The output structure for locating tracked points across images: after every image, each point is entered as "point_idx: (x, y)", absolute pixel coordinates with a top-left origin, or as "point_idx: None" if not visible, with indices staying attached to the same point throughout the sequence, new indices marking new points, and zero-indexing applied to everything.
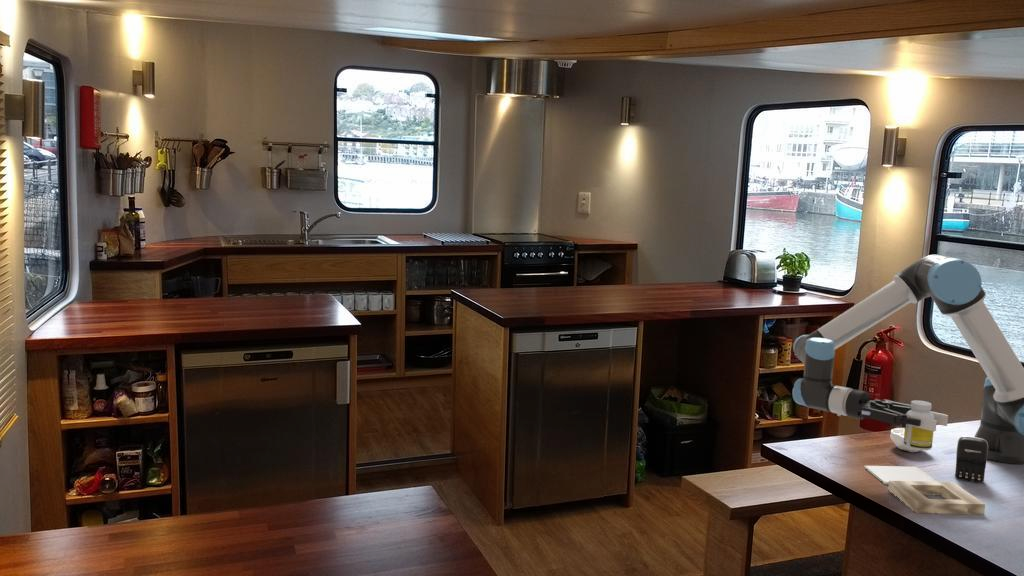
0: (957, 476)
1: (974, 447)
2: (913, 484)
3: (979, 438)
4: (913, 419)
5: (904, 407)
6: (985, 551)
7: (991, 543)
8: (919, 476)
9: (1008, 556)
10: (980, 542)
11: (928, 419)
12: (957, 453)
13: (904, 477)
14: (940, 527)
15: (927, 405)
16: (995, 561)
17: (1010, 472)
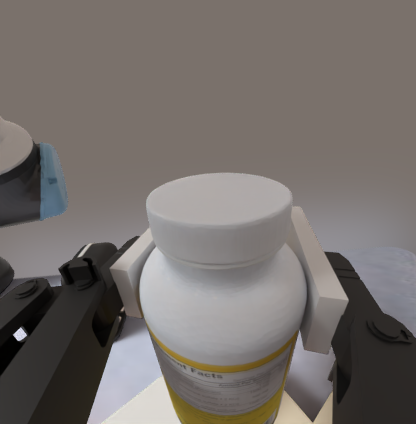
0: (115, 335)
1: None
2: (298, 410)
3: (88, 247)
4: (354, 276)
5: (31, 414)
6: (398, 266)
7: (364, 265)
8: None
9: (377, 251)
10: (379, 273)
11: (307, 220)
12: None
13: None
14: (407, 321)
15: (254, 176)
16: (410, 257)
17: (57, 279)
